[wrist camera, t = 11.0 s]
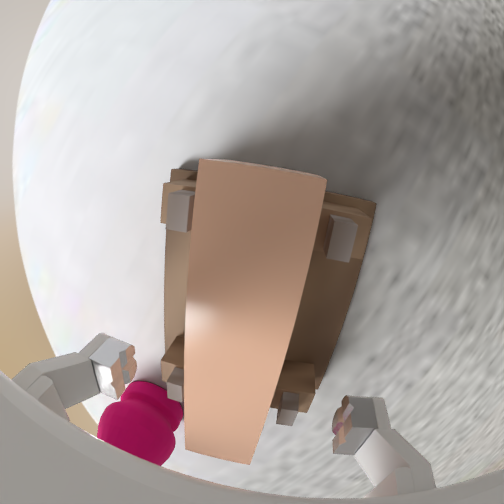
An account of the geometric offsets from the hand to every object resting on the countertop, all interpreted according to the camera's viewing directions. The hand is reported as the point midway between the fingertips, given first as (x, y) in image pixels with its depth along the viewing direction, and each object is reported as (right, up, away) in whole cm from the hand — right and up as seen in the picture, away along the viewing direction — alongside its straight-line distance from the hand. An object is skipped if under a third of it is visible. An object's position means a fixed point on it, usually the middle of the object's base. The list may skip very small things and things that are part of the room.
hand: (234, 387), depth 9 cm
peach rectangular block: (0, +1, +5) cm, 5 cm away
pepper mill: (-9, -10, +15) cm, 20 cm away
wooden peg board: (+1, +2, +9) cm, 9 cm away
